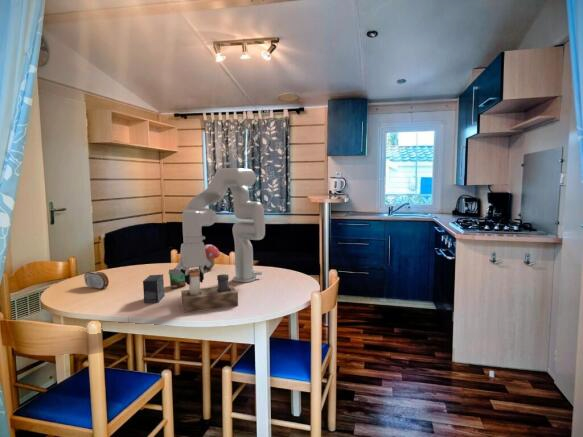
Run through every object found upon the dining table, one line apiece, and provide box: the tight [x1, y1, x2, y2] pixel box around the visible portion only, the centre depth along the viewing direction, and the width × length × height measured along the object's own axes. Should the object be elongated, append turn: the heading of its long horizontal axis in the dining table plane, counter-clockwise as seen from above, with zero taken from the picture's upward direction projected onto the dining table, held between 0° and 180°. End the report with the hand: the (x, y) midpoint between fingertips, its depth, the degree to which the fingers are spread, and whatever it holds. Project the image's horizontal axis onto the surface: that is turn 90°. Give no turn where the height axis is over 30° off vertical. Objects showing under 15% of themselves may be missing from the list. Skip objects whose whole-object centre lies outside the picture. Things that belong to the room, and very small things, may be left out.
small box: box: [142, 274, 165, 304], centre depth 163 cm, size 11×6×10 cm, turn 5°
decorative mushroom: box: [204, 244, 221, 270], centre depth 222 cm, size 13×13×15 cm
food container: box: [168, 266, 187, 290], centre depth 185 cm, size 12×6×10 cm, turn 168°
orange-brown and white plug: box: [188, 269, 201, 296], centre depth 153 cm, size 5×5×12 cm
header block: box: [181, 284, 239, 313], centre depth 156 cm, size 22×12×6 cm, turn 111°
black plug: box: [216, 273, 230, 292], centre depth 158 cm, size 5×5×12 cm
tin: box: [83, 270, 110, 290], centre depth 183 cm, size 15×3×8 cm, turn 65°
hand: (194, 282), depth 153 cm, fingers closed on orange-brown and white plug, 4 cm apart
